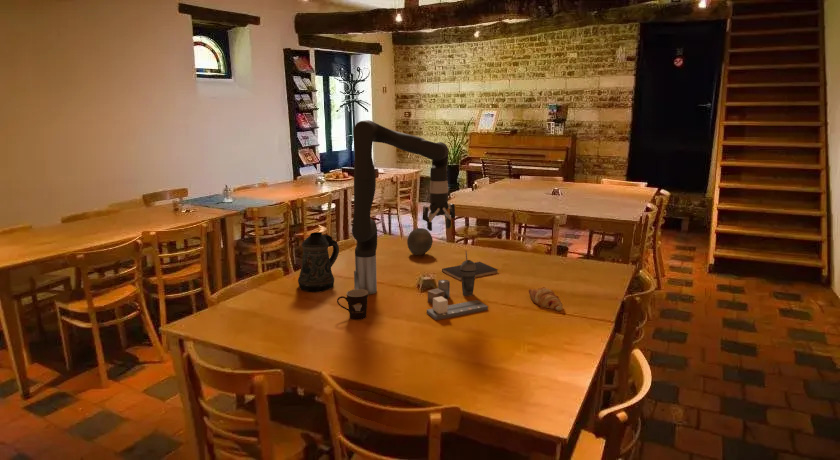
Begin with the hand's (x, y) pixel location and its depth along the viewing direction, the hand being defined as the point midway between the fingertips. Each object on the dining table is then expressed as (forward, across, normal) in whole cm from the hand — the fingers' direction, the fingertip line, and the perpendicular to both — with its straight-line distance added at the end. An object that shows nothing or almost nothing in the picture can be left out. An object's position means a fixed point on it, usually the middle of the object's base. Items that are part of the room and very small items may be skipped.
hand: (439, 229), depth 222 cm
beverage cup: (+31, -13, +2) cm, 34 cm away
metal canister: (+31, -2, 0) cm, 31 cm away
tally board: (+31, +1, +17) cm, 35 cm away
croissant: (+32, -36, +26) cm, 55 cm away
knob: (+29, +9, +17) cm, 35 cm away
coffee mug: (+30, +40, +3) cm, 50 cm away
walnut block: (+31, +4, +4) cm, 31 cm away
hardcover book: (+31, -30, -24) cm, 50 cm away
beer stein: (+30, +43, -39) cm, 65 cm away
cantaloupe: (+30, -21, -62) cm, 72 cm away
